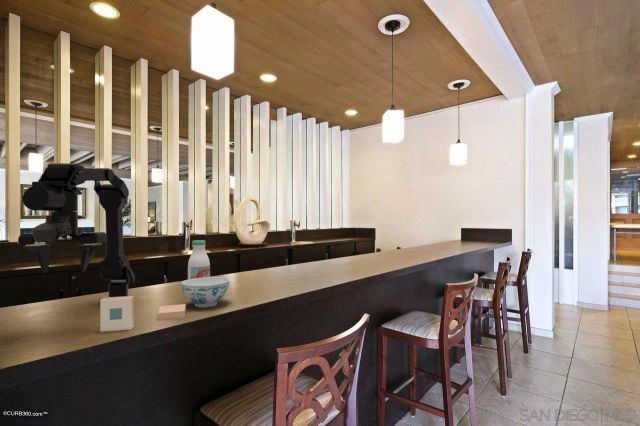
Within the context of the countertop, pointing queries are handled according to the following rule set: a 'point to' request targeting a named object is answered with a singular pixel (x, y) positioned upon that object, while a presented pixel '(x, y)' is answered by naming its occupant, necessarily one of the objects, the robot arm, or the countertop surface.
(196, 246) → the milk bottle
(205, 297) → the chinaware
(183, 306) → the finished tile
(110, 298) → the tile
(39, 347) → the countertop surface
